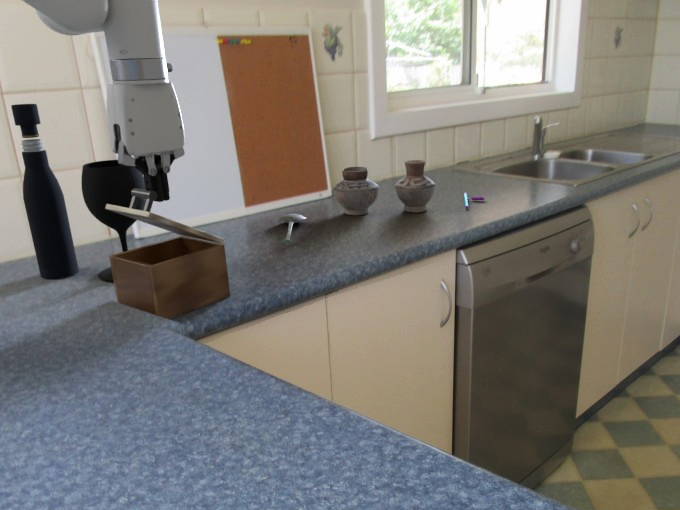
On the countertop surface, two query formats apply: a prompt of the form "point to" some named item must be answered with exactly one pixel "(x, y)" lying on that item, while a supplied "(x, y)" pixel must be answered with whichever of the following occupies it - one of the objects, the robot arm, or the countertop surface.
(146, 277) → the chest
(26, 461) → the countertop surface
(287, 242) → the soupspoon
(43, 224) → the black water bottle
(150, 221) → the chest lid
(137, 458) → the countertop surface
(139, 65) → the robot arm
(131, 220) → the wine glass
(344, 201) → the pottery
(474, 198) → the squeegee
